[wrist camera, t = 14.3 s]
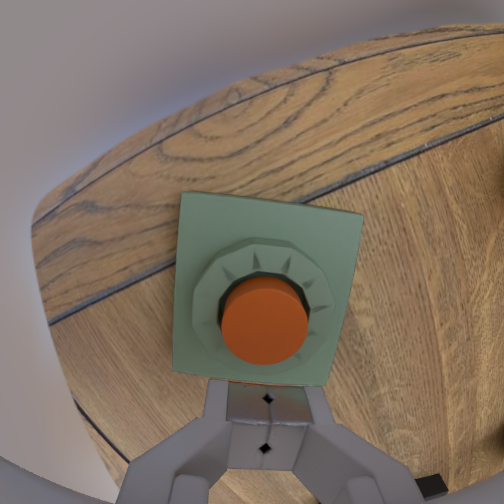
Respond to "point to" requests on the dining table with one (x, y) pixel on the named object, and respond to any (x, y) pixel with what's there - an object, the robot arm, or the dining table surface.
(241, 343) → the button
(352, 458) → the robot arm
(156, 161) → the dining table surface
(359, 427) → the dining table surface
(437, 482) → the timer panel
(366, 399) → the dining table surface
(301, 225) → the button block
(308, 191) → the dining table surface
